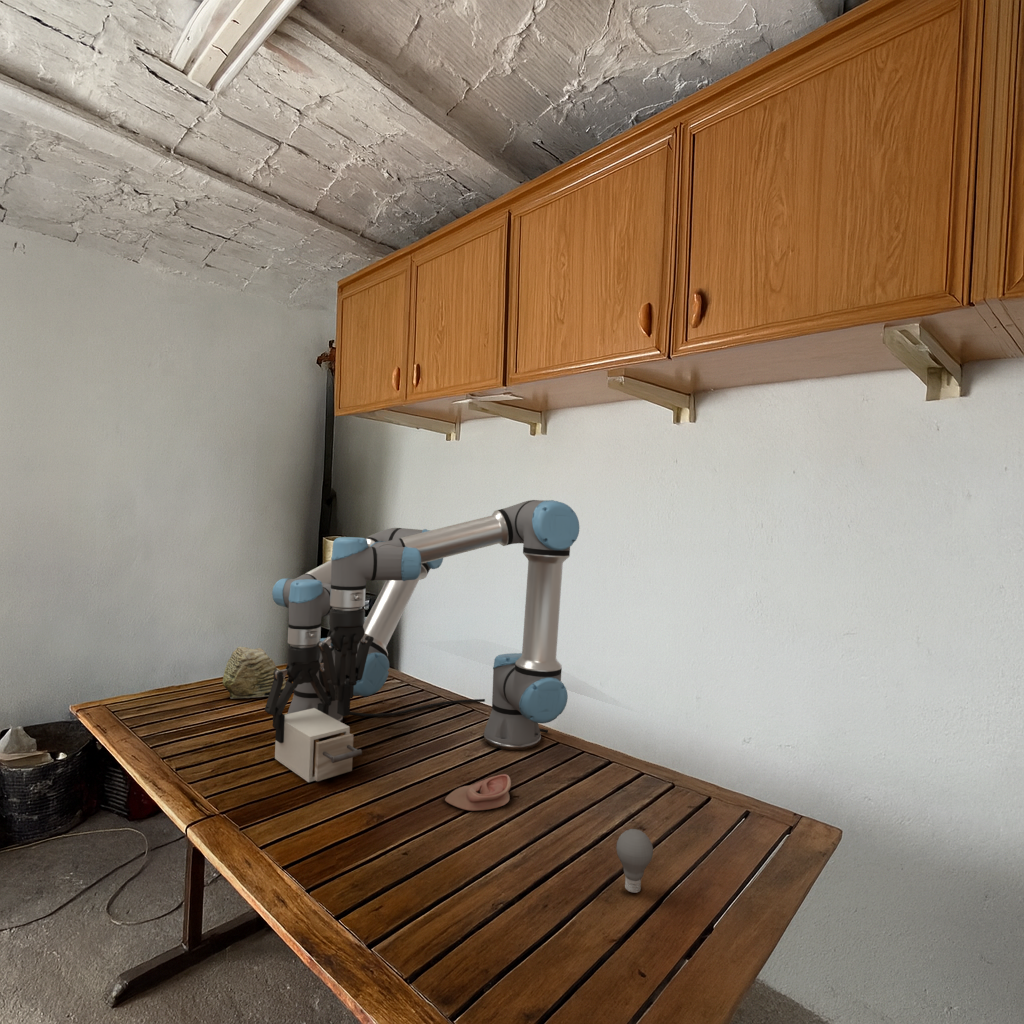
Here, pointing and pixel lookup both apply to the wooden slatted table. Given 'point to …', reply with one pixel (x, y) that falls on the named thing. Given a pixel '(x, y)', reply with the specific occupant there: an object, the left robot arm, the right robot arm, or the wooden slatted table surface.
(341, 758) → the drawer
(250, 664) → the fossil
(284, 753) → the cabinet
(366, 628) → the left robot arm
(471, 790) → the anatomical model
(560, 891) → the wooden slatted table surface
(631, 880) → the light bulb
